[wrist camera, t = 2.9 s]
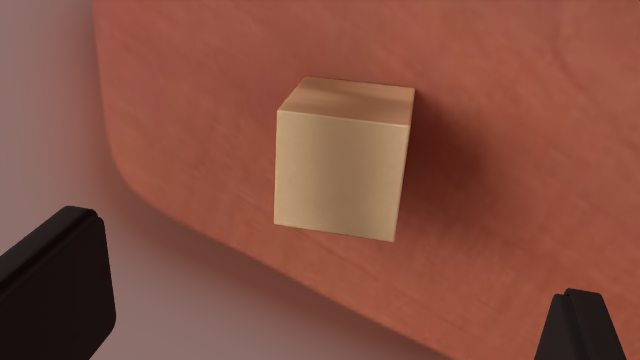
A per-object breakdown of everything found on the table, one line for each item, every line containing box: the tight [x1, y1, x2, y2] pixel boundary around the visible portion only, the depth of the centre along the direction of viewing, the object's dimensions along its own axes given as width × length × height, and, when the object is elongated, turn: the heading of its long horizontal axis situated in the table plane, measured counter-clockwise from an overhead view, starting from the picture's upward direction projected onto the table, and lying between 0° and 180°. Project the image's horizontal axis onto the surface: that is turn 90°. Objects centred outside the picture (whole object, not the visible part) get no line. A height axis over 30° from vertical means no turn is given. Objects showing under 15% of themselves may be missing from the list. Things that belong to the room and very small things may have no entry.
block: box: [274, 76, 415, 242], centre depth 19 cm, size 4×4×4 cm
